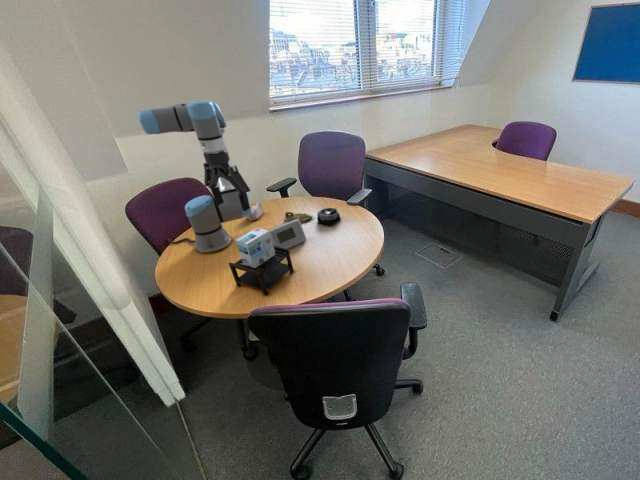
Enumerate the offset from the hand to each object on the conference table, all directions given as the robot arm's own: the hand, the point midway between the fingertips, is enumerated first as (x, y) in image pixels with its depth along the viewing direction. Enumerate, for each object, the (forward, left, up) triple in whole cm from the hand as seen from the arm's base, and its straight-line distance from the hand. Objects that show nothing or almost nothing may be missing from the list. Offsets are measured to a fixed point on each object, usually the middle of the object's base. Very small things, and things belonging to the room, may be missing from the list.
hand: (233, 206), depth 117 cm
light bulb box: (+11, -4, -19) cm, 22 cm away
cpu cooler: (+8, +46, -28) cm, 55 cm away
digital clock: (+4, +19, -28) cm, 34 cm away
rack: (+12, -4, -28) cm, 31 cm away
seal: (-9, +42, -28) cm, 51 cm away
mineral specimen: (-34, +35, -28) cm, 56 cm away
